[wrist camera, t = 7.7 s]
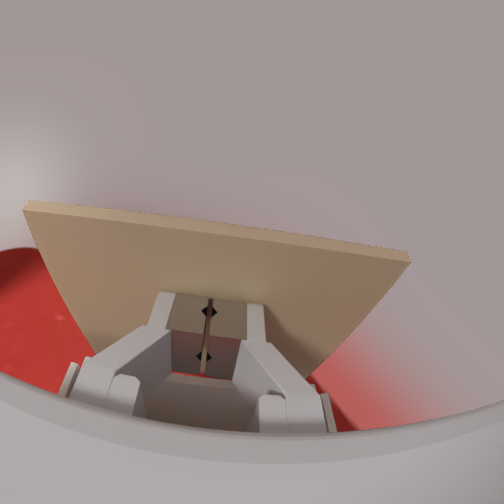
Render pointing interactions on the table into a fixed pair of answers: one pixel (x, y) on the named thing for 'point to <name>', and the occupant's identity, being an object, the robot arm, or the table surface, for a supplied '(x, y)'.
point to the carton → (198, 402)
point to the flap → (209, 274)
